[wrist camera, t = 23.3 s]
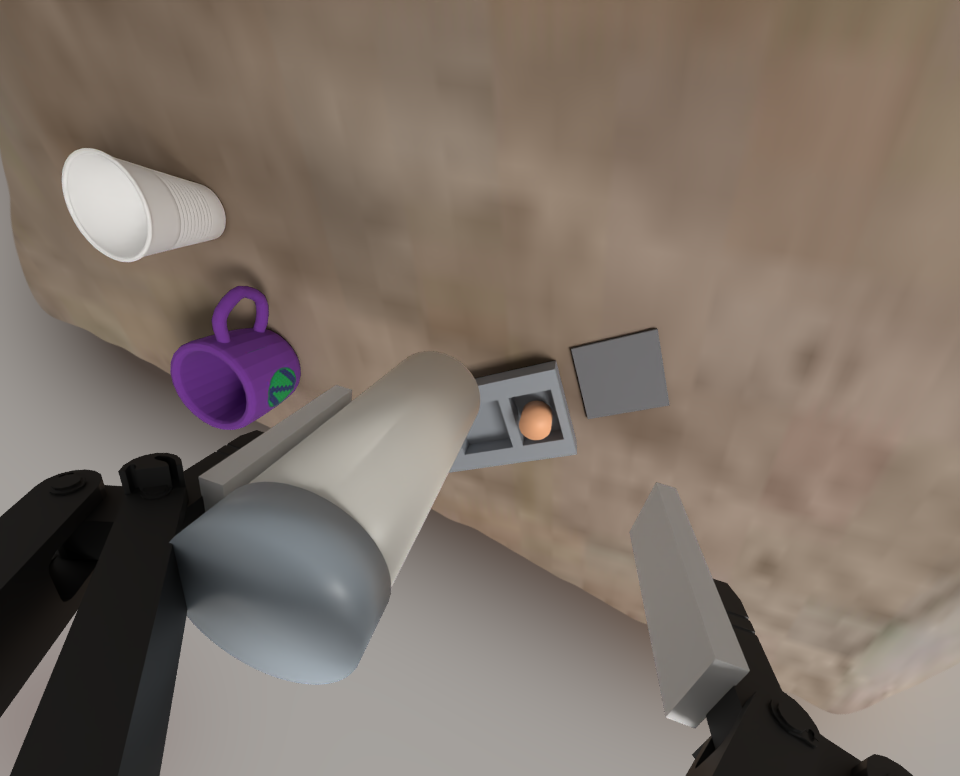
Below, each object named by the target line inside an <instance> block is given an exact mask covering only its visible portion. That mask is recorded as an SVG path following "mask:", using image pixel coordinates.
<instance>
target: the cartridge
mask: <svg viewBox="0 0 960 776" xmlns="http://www.w3.org/2000/svg"><path fill="white" fill-rule="evenodd" d="M479 408H480V392H479V388H478V385H477V383H476V380H475V378H474V377H473V375H472V374H471V372H470V371H469V370H468V369H467V368H466V367H465V365H463V364H462V363H461V362H460V361H458V360H457V359H455V358H454V357H451V356H449V355H447V354H444V353H441V352H436V351H423V352H418V353H415V354H413V355H411V356H409V357H407V358H406V359H405V360H403V361H402V362H401V363H399V364H398V365H397V366H396V367H394V368H393V369H392V370H391V371H389V372H388V373H387V374H386V375H384V376H383V377H382V378H381V379H379V380H378V381H377V382H376V383H374V384H373V385H372V386H371V387H369V388H368V389H367V390H365V391H364V392H363V393H362V394H360V395H359V396H358V397H357V398H355V399H354V400H353V401H352V402H350V403H349V404H348V405H347V406H345V407H344V408H343V409H342V410H340V411H339V412H338V413H337V414H335V415H334V416H333V417H332V418H330V419H329V420H328V421H326V422H325V423H324V424H323V425H321V426H320V427H319V428H318V429H316V430H315V431H314V432H313V433H311V434H310V435H309V436H308V437H306V438H305V439H304V440H303V441H301V442H300V443H299V444H298V445H296V446H295V447H294V448H292V449H291V450H290V451H289V452H287V453H286V454H285V455H284V456H282V457H281V458H280V459H279V460H277V461H276V462H275V463H274V464H272V465H271V466H270V467H269V468H267V469H266V470H265V471H264V472H262V473H261V474H260V475H259V476H257V477H256V478H255V479H253V480H252V481H251V482H250V483H248V484H246V485H243V486H241V487H239V488H237V489H235V490H234V491H232V492H231V493H230V494H228V495H227V496H226V497H224V498H223V499H222V500H221V501H219V502H218V503H217V504H215V505H214V506H213V507H212V508H210V509H209V510H208V511H206V512H205V513H204V514H203V515H201V516H200V517H199V518H197V519H196V520H195V521H194V522H192V523H191V524H190V525H189V526H187V527H186V528H185V529H183V530H182V531H181V532H180V533H178V534H177V535H176V536H174V537H173V538H172V540H171V541H170V542H169V543H172V544H173V548H174V552H175V557H176V561H177V566H178V570H179V575H180V579H181V583H182V588H183V592H184V597H185V601H186V606H187V615H186V616H187V617H188V618H189V619H190V620H191V621H192V623H193V624H194V625H195V626H196V627H197V628H198V629H199V630H200V631H201V632H202V633H203V634H205V635H206V636H207V637H208V638H209V639H210V640H211V641H213V642H214V643H215V644H216V645H218V646H219V647H220V648H221V649H223V650H224V651H226V652H227V653H229V654H230V655H232V656H233V657H235V658H237V659H238V660H240V661H242V662H243V663H245V664H247V665H249V666H251V667H253V668H255V669H257V670H259V671H261V672H264V673H266V674H269V675H271V676H275V677H277V678H280V679H284V680H287V681H291V682H297V683H303V684H328V683H333V682H337V681H339V680H342V679H344V678H345V677H347V676H349V675H350V674H351V673H352V672H353V671H354V670H355V669H356V668H357V666H358V663H359V661H360V660H361V657H362V655H363V653H364V651H365V649H366V647H367V645H368V643H369V641H370V639H371V637H372V635H373V633H374V631H375V629H376V627H377V624H378V622H379V620H380V618H381V616H382V614H383V612H384V610H385V608H386V606H387V604H388V602H389V598H390V595H391V588H392V585H393V583H394V582H395V579H396V577H397V575H398V573H399V571H400V569H401V567H402V565H403V563H404V561H405V559H406V557H407V555H408V553H409V551H410V549H411V547H412V545H413V543H414V541H415V539H416V537H417V535H418V533H419V531H420V529H421V527H422V525H423V523H424V521H425V519H426V517H427V515H428V513H429V511H430V509H431V507H432V505H433V503H434V501H435V499H436V497H437V495H438V493H439V491H440V489H441V487H442V485H443V483H444V481H445V479H446V477H447V475H448V473H449V471H450V469H451V467H452V465H453V463H454V461H455V459H456V457H457V455H458V453H459V451H460V449H461V447H462V444H463V442H464V440H465V438H466V436H467V434H468V432H469V430H470V428H471V426H472V424H473V422H474V420H475V418H476V416H477V414H478V411H479Z"/></svg>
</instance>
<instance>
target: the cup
mask: <svg viewBox="0 0 960 776" xmlns="http://www.w3.org/2000/svg"><path fill="white" fill-rule="evenodd" d="M62 189H63V194H64V198H65V202H66V205H67V207H68V210H69V212H70V214H71V216H72V218H73V220H74V222H75V224H76V225H77V227H78V228H79V230H80V232H81V233H82V234H83V235H84V237H85V238H86V239H87V240H88V241H89V242H90V243H91V244H92V245H93V246H94V247H95V248H96V249H97V250H99V251H100V252H101V253H103V254H104V255H106V256H108V257H110V258H112V259H114V260H118V261H121V262H133V261H137V260H139V259H140V258H142V257H144V256H148V255H152V254H156V253H160V252H164V251H168V250H172V249H176V248H180V247H184V246H189V245H193V244H197V243H201V242H205V241H209V240H213V239H216V238H218V237H220V236H221V235H222V233H223V231H224V229H225V224H226V216H225V211H224V208H223V206H222V204H221V202H220V200H219V199H218V197H217V196H216V195H215V194H214V192H213V191H211V190H210V189H209V188H208V187H206V186H204V185H201V184H198V183H195V182H191V181H188V180H185V179H181V178H178V177H175V176H172V175H169V174H166V173H162V172H159V171H156V170H153V169H149V168H146V167H143V166H140V165H137V164H134V163H131V162H128V161H124V160H121V159H118V158H115V157H112V156H110V155H108V154H106V153H104V152H103V151H100V150H97V149H93V148H82V149H79V150H76V151H74V152H73V153H72V154H70V155H69V156H68V158H67V160H66V161H65V163H64V167H63V170H62Z"/></svg>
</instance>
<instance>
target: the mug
mask: <svg viewBox="0 0 960 776" xmlns="http://www.w3.org/2000/svg"><path fill="white" fill-rule="evenodd" d="M244 297H245V298H249V299H252V300H253V301H255V304H256V321H255V324H254V326H253V328H245V329H236V330H231V331H228V328H227V318H228V315H229V313H230V312H231V310H232V309H233V308H234V306H235V305H236V304H237V303H238V302H239V301H240V300H241V299H242V298H244ZM268 316H269V311H268V303H267V300H266V298H265V295H264V294H262V293H261V292H260V291H258V290H257V289H255V288H252V287H248V286H237V287H235V288H233V289H231V290H230V291H229V292H228V293H227V294H226V295H225V296H224V297H223V298H222V299H221V301H220V302H219V303H218V305H217V306H216V308H215V310H214V313H213V316H212V327H213V331H214V334H215V335H211V336H207V337H204V338H200V339H197V340H194V341H191V342H188V343H186V344H184V345H182V346H181V347H180V348H179V349H178V350H177V351H176V352H175V353H174V355H173V358H172V361H171V377H172V381H173V385H174V387H175V389H176V391H177V393H178V396H179V397H180V398H181V400H182V401H183V403H184V404H185V406H186V407H187V408H188V409H189V410H190V411H191V412H192V413H193V414H194V415H196V416H197V417H198V418H199V419H201V420H202V421H203V422H205V423H207V424H209V425H211V426H213V427H216V428H220V429H227V430H231V429H232V430H233V429H234V430H235V429H239V428H242V427H245V426H247V425H248V424H250V423H252V422H253V421H255V420H257V419H258V418H260V417H261V416H263V415H264V414H266V413H267V412H269V411H270V410H272V409H273V408H275V407H276V406H277V405H279V404H280V403H281V402H283V401H284V400H285V399H287V398H288V397H289V396H290V395H291V394H292V393H293V392H294V391H295V389H296V387H297V386H298V384H299V380H300V376H301V372H300V364H299V360H298V357H297V355H296V354H295V352H294V350H293V348H292V347H291V346H290V345H289V344H288V342H287V341H286V340H284V339H283V338H282V337H281V336H280V335H278V334H276V333H274V332H272V331H271V330H267V329H266V327H267V324H268Z"/></svg>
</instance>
